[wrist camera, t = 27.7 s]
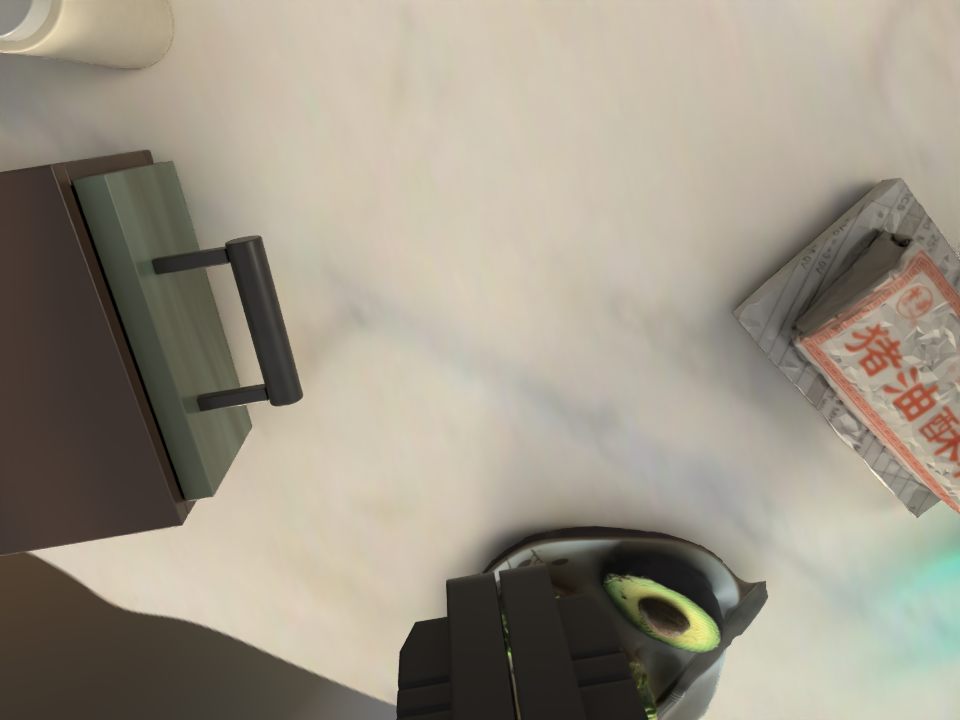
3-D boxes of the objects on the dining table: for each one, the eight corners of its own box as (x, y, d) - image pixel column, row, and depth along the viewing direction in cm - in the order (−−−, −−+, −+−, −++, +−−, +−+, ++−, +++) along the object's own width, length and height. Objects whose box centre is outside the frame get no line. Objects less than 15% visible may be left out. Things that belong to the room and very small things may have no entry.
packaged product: (1128, 436, 34) (962, 558, 36) (1047, 398, 39) (903, 508, 41) (951, 182, 29) (767, 341, 31) (880, 171, 33) (724, 311, 35)
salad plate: (699, 763, 47) (727, 829, 43) (446, 761, 45) (447, 830, 41) (768, 529, 41) (809, 579, 36) (474, 515, 39) (480, 567, 34)
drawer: (268, 145, 30) (226, 155, 24) (335, 413, 35) (314, 481, 29) (-130, 207, 30) (-281, 234, 23) (-8, 468, 35) (-106, 550, 28)
